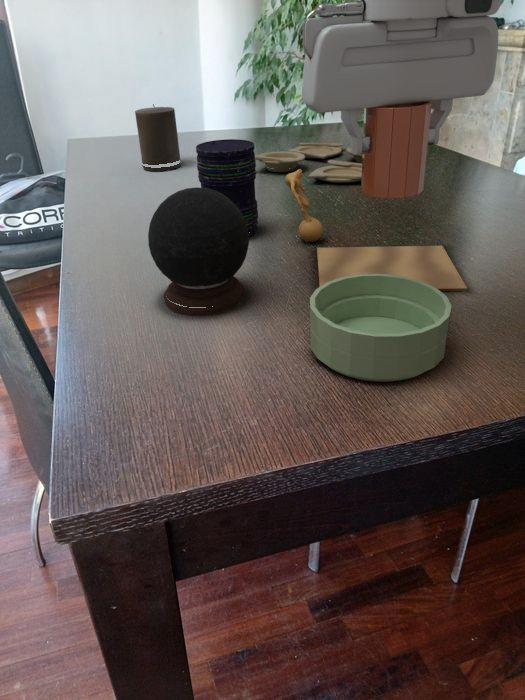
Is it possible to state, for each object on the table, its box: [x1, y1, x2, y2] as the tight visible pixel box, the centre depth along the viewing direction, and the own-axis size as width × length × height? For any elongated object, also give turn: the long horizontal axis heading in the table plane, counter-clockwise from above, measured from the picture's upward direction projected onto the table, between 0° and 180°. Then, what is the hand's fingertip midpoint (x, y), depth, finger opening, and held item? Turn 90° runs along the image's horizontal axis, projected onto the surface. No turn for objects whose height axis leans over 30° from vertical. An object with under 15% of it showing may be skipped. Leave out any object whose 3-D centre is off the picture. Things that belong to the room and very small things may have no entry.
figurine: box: [285, 168, 323, 243], centre depth 93 cm, size 8×6×12 cm
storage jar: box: [195, 138, 259, 240], centre depth 97 cm, size 10×10×15 cm
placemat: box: [316, 245, 468, 292], centre depth 85 cm, size 20×16×1 cm
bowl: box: [309, 274, 452, 383], centre depth 64 cm, size 15×15×6 cm
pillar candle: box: [134, 104, 182, 172], centre depth 142 cm, size 10×10×15 cm
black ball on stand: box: [147, 187, 250, 317], centre depth 75 cm, size 13×13×15 cm
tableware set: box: [255, 142, 363, 184], centre depth 139 cm, size 35×29×4 cm
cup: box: [360, 101, 432, 199], centre depth 61 cm, size 7×7×9 cm
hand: (394, 148), depth 61 cm, fingers closed on cup, 7 cm apart
